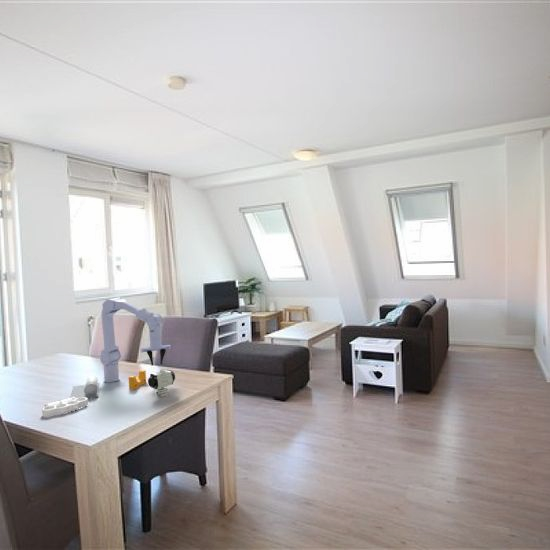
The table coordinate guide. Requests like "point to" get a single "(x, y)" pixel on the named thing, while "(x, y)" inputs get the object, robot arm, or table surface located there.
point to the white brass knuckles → (64, 406)
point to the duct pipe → (87, 389)
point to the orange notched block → (137, 380)
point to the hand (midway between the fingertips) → (156, 364)
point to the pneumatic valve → (161, 381)
